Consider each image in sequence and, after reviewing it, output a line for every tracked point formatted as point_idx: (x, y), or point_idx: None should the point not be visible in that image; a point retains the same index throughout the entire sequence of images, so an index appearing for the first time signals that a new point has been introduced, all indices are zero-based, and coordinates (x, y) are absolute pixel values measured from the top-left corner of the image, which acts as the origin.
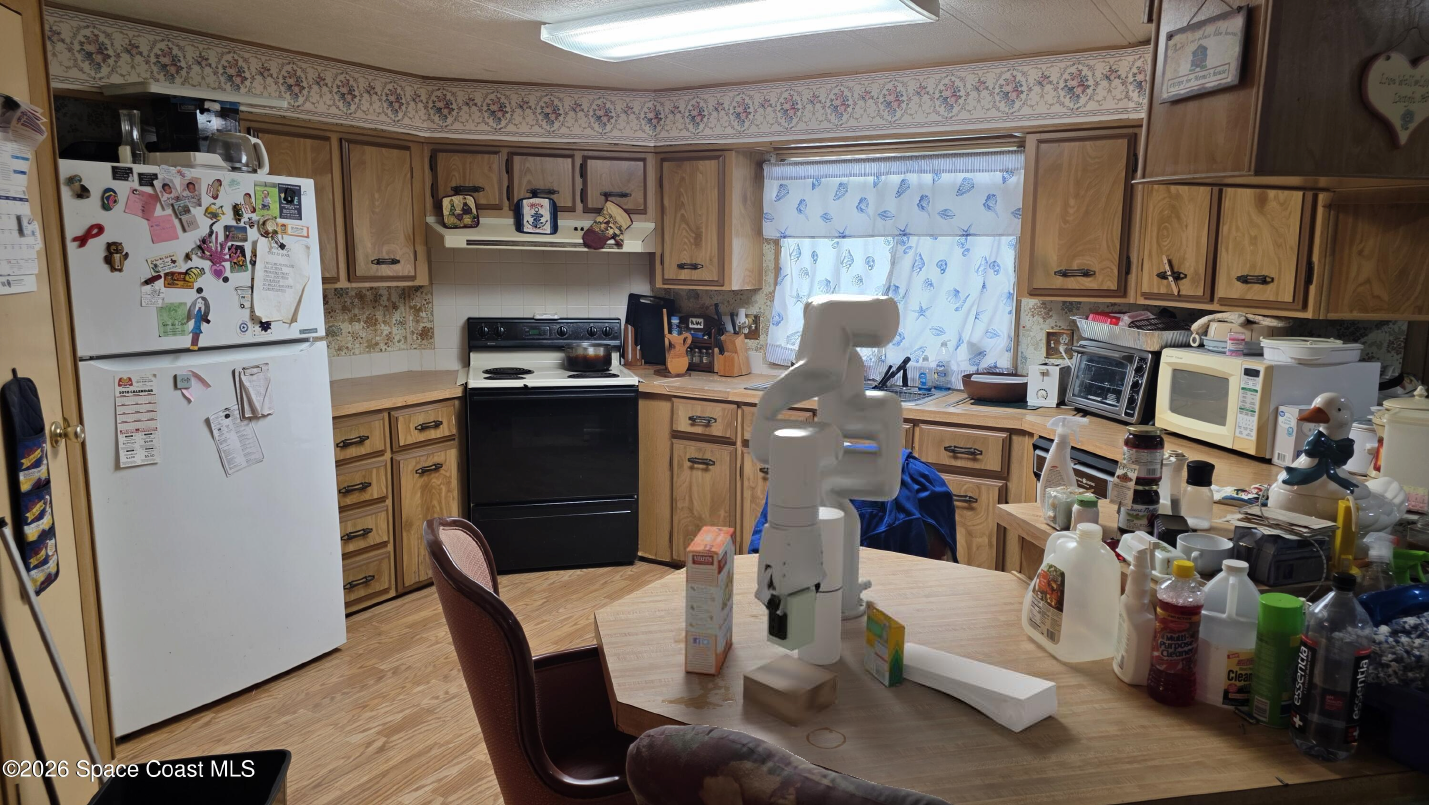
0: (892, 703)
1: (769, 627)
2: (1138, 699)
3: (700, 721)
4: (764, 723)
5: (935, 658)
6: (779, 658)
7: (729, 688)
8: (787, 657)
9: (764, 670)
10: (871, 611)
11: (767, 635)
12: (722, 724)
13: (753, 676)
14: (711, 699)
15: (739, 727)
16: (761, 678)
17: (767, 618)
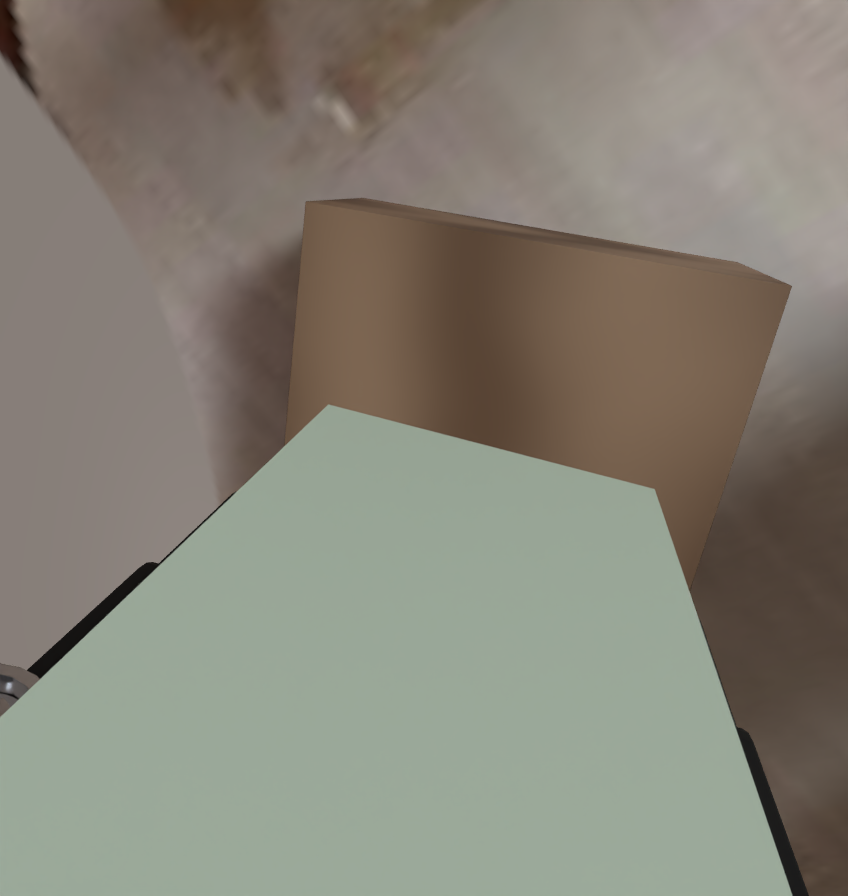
0: (776, 790)
1: (133, 575)
2: None
3: (83, 118)
4: (272, 396)
5: None
6: (682, 286)
7: (469, 8)
8: (732, 328)
9: (442, 295)
10: None
11: (310, 427)
12: (137, 232)
13: (325, 278)
14: (292, 5)
15: (171, 317)
16: (332, 340)
17: (229, 500)
